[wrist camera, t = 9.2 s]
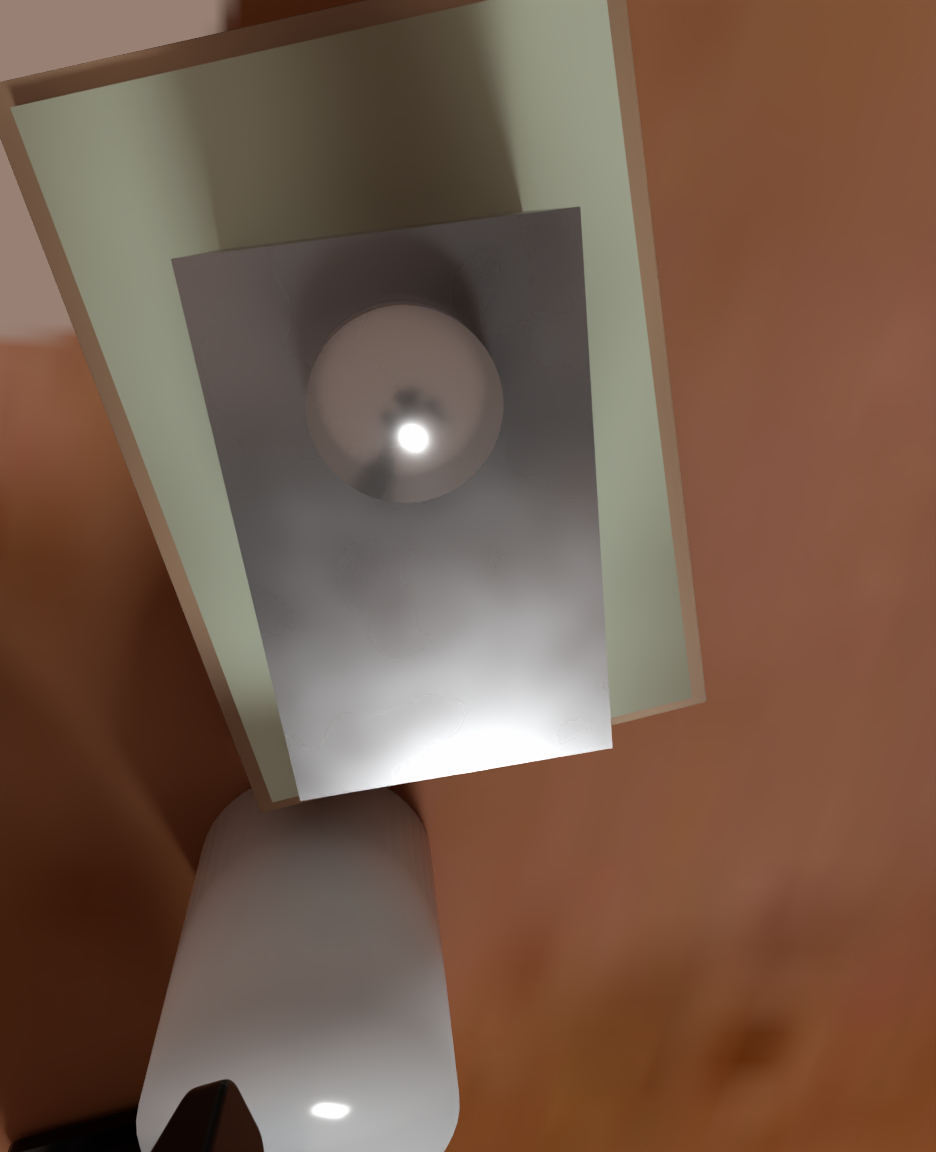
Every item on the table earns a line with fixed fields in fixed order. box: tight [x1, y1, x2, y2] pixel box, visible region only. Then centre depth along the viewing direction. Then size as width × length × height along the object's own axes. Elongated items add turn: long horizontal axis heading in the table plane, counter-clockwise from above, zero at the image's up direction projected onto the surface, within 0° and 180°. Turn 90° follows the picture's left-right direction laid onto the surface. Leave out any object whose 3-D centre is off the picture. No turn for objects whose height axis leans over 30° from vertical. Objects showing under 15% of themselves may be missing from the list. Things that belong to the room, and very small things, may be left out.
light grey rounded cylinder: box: [136, 787, 459, 1152], centre depth 19 cm, size 6×6×7 cm
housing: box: [171, 207, 612, 801], centre depth 13 cm, size 5×8×5 cm, turn 6°
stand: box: [0, 0, 706, 813], centre depth 17 cm, size 10×14×3 cm
